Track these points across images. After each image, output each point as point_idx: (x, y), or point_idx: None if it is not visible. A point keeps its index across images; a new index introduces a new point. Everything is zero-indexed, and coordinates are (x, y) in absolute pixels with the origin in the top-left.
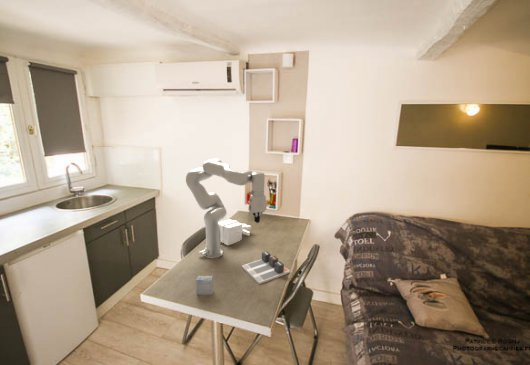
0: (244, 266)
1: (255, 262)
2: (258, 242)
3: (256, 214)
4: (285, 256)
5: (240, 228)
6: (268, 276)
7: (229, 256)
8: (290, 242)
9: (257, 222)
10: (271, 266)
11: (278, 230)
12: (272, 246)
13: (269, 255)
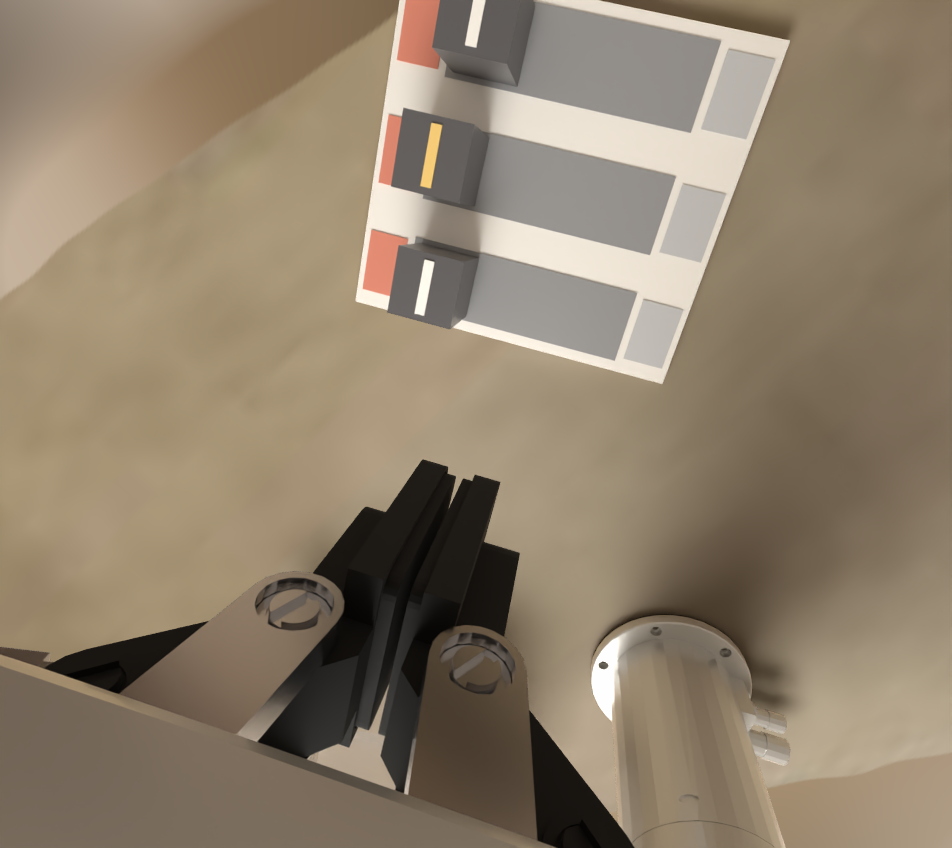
0: (662, 354)
1: (540, 328)
2: (274, 541)
3: (483, 734)
4: (243, 216)
5: (324, 751)
6: (640, 49)
7: (605, 565)
8: (54, 348)
9: (495, 482)
10: (483, 162)
11: (21, 547)
12: (224, 416)
13: (415, 247)
